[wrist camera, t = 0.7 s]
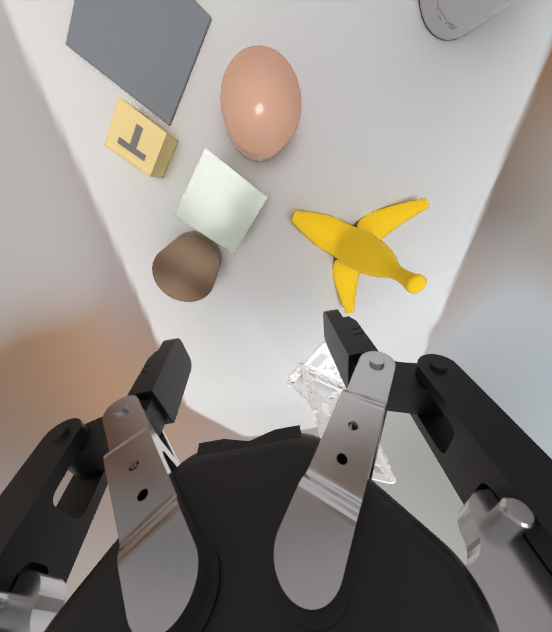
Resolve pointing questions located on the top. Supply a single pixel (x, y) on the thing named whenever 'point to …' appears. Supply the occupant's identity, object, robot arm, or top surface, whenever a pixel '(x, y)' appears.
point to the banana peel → (362, 246)
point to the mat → (141, 46)
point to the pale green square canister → (219, 202)
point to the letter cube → (140, 140)
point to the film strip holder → (330, 400)
